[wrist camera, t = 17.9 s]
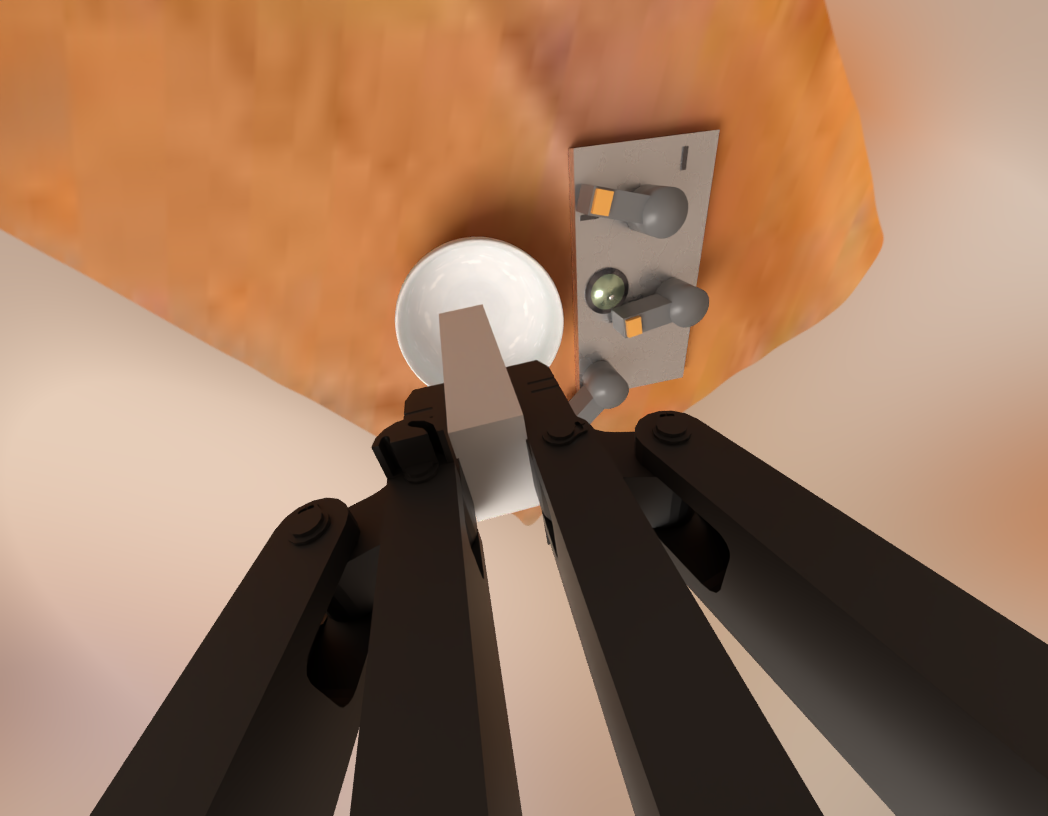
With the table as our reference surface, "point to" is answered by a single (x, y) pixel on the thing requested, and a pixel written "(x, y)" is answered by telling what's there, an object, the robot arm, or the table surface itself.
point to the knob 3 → (662, 309)
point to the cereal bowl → (479, 303)
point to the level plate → (635, 251)
